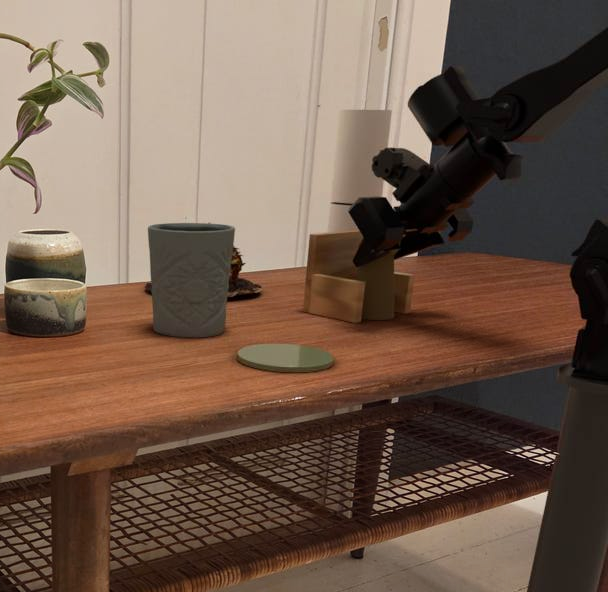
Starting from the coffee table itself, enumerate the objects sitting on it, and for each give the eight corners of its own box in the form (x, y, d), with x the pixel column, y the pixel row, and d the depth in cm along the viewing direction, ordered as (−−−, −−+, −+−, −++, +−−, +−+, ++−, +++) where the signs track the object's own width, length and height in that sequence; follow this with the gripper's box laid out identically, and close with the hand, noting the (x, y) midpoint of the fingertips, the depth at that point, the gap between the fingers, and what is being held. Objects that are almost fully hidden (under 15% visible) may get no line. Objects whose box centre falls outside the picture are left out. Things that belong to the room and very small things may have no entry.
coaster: (348, 358, 94) (349, 353, 93) (307, 378, 86) (308, 372, 86) (264, 344, 99) (265, 339, 99) (219, 361, 92) (219, 356, 91)
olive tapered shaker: (337, 313, 116) (346, 227, 112) (365, 308, 119) (375, 224, 115) (375, 321, 111) (387, 232, 107) (403, 316, 115) (415, 229, 111)
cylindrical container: (313, 287, 134) (329, 109, 125) (354, 285, 136) (373, 110, 127) (337, 295, 128) (356, 109, 119) (380, 293, 130) (402, 110, 121)
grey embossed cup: (199, 342, 99) (204, 233, 95) (128, 330, 105) (129, 226, 100) (245, 328, 107) (251, 225, 102) (176, 317, 112) (179, 219, 108)
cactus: (136, 298, 124) (137, 226, 120) (153, 280, 138) (154, 215, 135) (259, 304, 121) (264, 231, 117) (263, 285, 136) (268, 219, 132)
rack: (410, 312, 117) (420, 235, 113) (355, 323, 111) (364, 241, 107) (357, 302, 123) (365, 228, 120) (302, 311, 117) (309, 233, 113)
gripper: (466, 124, 109) (382, 209, 121) (371, 122, 98) (289, 216, 111) (514, 195, 106) (423, 275, 118) (421, 202, 96) (331, 289, 108)
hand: (367, 262), depth 114 cm, fingers closed on olive tapered shaker, 5 cm apart
